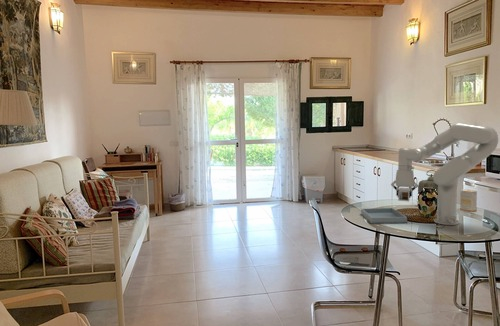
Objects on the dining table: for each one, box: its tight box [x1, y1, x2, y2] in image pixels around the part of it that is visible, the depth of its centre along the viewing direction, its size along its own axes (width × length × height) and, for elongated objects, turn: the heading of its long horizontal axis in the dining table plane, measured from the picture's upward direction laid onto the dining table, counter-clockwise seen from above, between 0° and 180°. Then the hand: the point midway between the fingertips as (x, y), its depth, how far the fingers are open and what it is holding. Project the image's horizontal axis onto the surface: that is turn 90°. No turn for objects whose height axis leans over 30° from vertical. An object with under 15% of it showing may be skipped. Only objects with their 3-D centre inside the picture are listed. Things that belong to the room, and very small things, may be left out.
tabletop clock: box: [417, 169, 438, 195], centre depth 242 cm, size 14×9×25 cm, turn 90°
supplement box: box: [459, 188, 478, 213], centre depth 227 cm, size 8×5×13 cm, turn 22°
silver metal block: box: [397, 187, 410, 202], centre depth 217 cm, size 12×6×6 cm, turn 155°
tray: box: [360, 207, 408, 225], centre depth 216 cm, size 24×20×4 cm
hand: (404, 196), depth 217 cm, fingers closed on silver metal block, 6 cm apart
